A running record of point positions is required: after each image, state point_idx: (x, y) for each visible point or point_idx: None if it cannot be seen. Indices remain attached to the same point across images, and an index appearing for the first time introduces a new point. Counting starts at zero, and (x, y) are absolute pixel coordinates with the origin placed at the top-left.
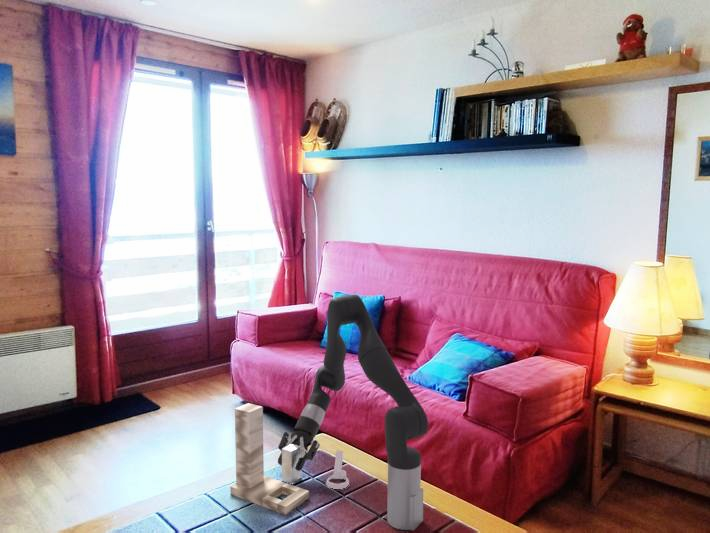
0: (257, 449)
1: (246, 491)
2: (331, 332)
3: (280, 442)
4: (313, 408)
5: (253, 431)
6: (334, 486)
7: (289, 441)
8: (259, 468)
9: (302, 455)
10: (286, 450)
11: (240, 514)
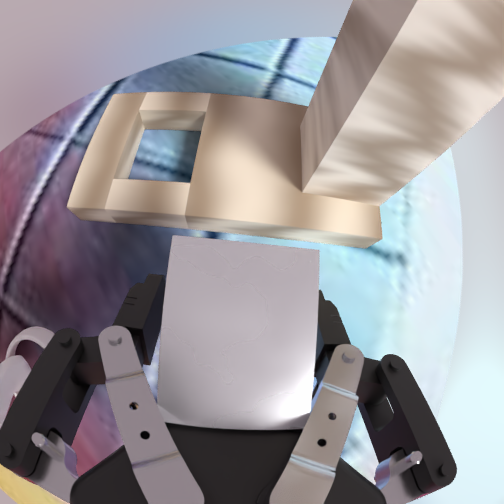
0: (366, 28)
1: (295, 107)
2: None
3: (419, 393)
4: None
5: None
6: (27, 329)
7: (343, 429)
8: (323, 125)
9: (113, 334)
10: (248, 243)
11: (245, 73)
